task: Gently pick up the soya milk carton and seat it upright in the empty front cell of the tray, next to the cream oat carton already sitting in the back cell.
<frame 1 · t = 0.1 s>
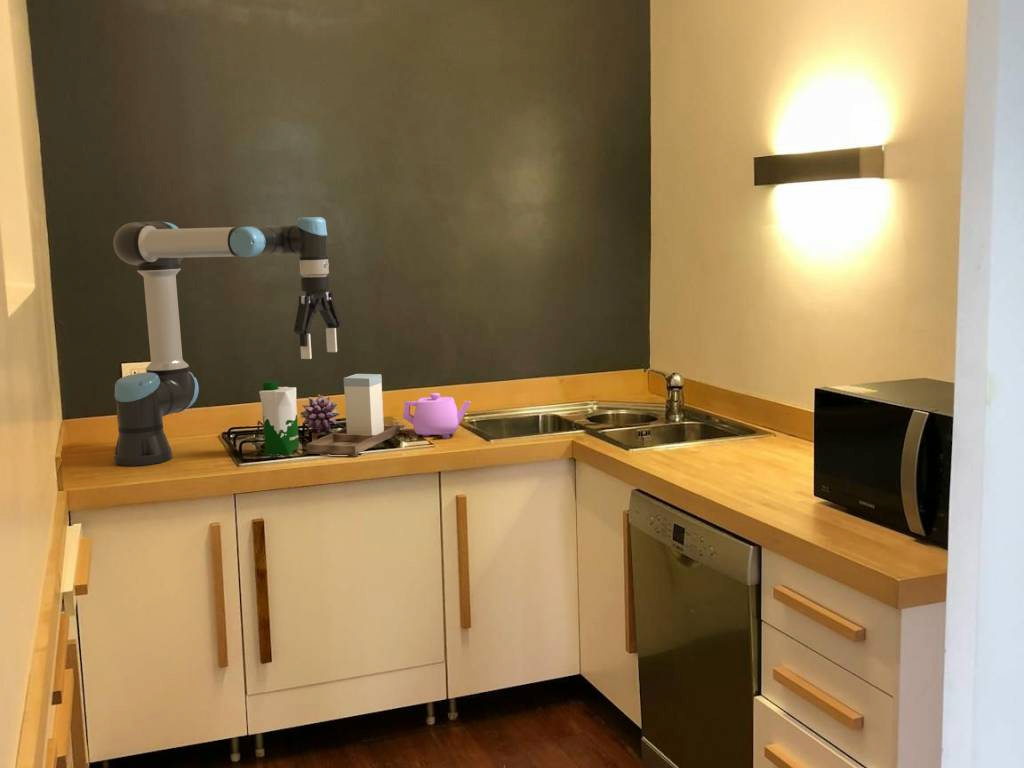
hand: (319, 355, 285), 28 cm above the worktop, fingers open, 13 cm apart
soya milk: (282, 453, 296), on the worktop
purple spiky ball: (321, 434, 321), on the worktop
teapot: (437, 436, 312), on the worktop
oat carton: (365, 437, 310), point 1 cm above the worktop, touching tray
tray: (355, 444, 303), on the worktop
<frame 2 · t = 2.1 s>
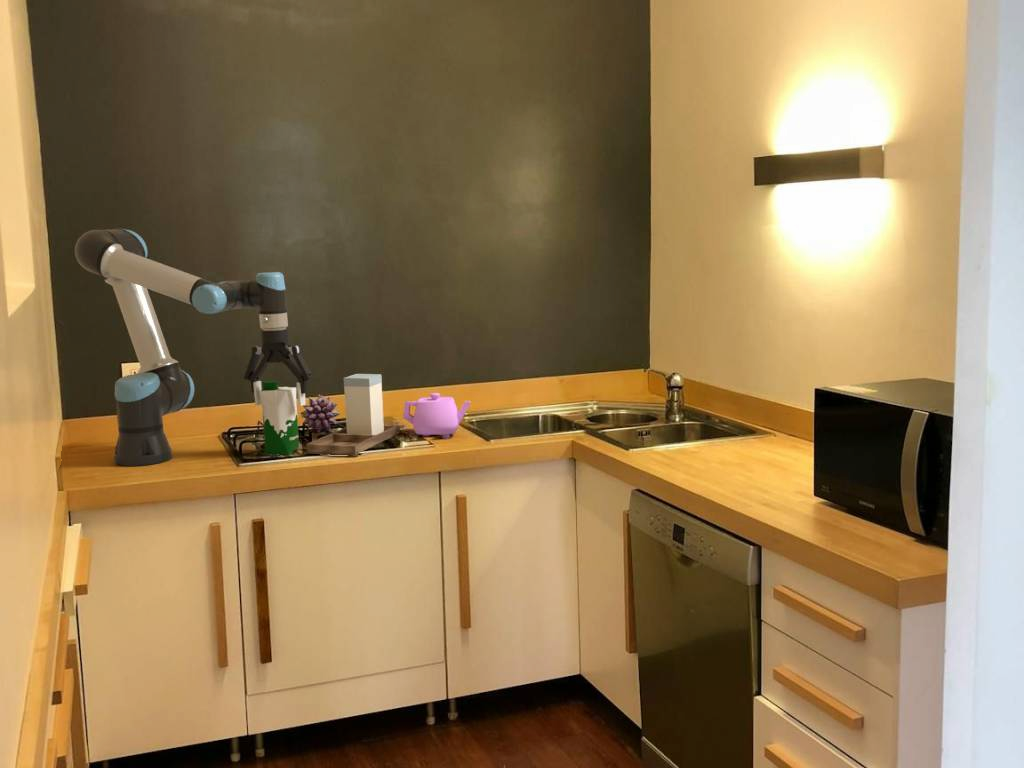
hand: (280, 405, 294), 13 cm above the worktop, fingers open, 13 cm apart
nothing on the worktop moved.
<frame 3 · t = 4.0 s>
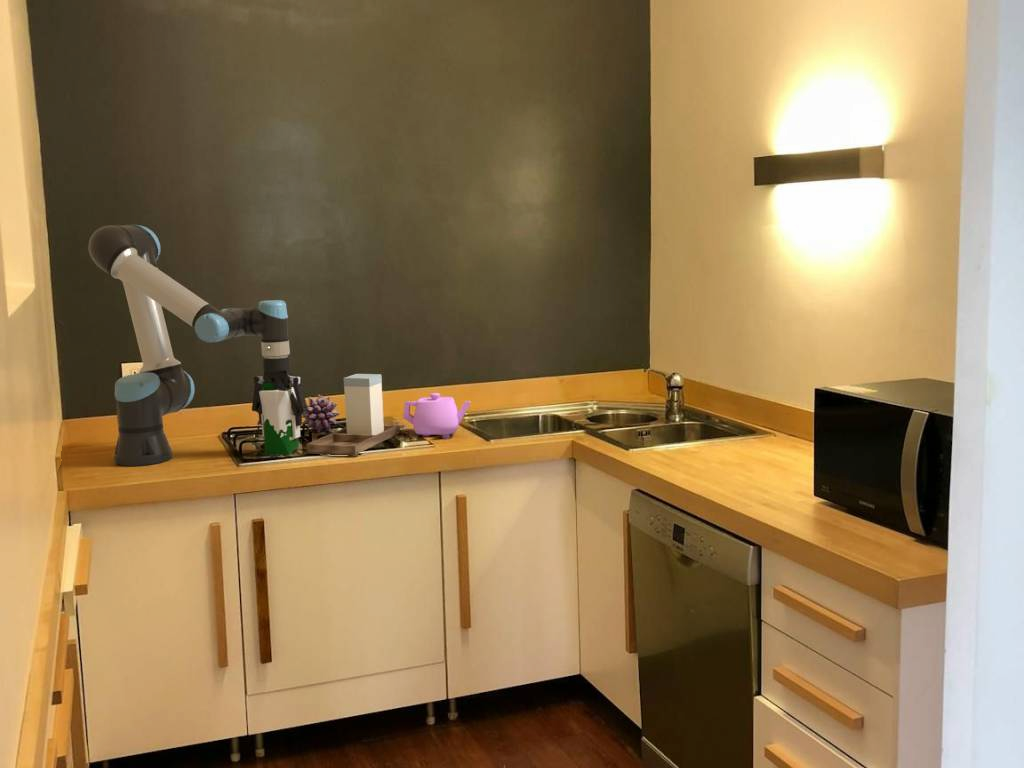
hand: (281, 436, 296), 4 cm above the worktop, fingers closed on soya milk, 9 cm apart
soya milk: (282, 453, 296), on the worktop, touching gripper
everything else where it was.
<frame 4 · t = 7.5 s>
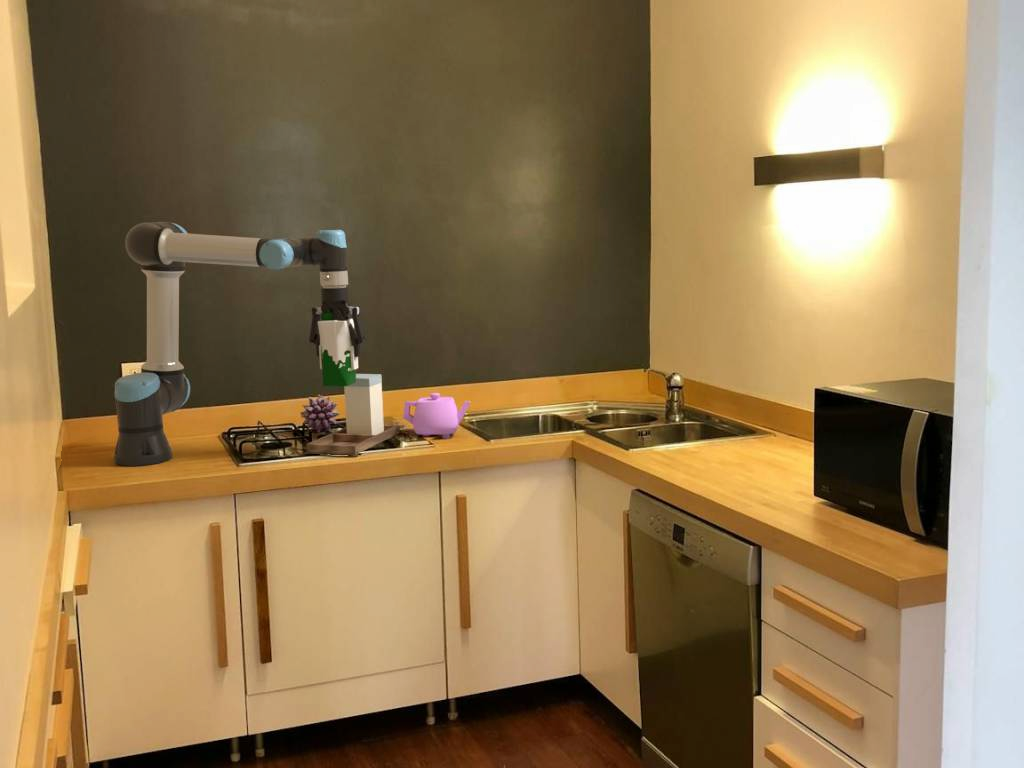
hand: (339, 368, 293), 23 cm above the worktop, fingers closed on soya milk, 9 cm apart
soya milk: (339, 385, 294), point 18 cm above the worktop, touching gripper
everything else where it was.
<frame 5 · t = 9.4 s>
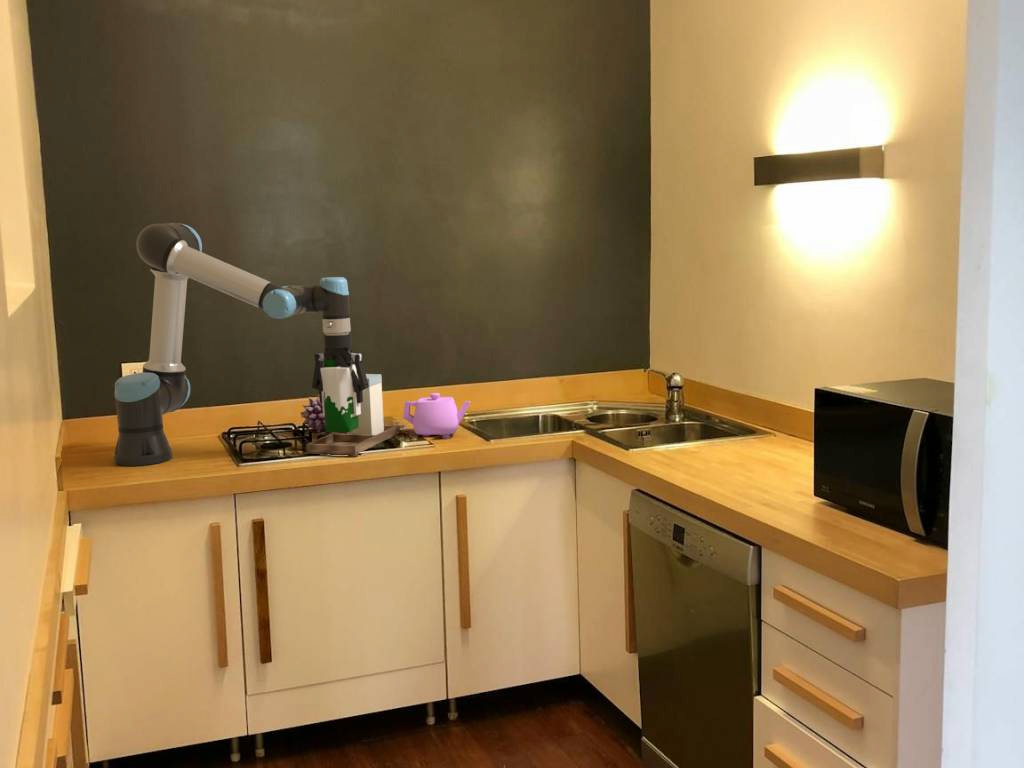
hand: (341, 414, 295), 10 cm above the worktop, fingers closed on soya milk, 9 cm apart
soya milk: (342, 430, 296), point 6 cm above the worktop, touching gripper
everything else where it was.
when the fingers open (7 cm above the worktop, at t = 11.1 s): soya milk drops 2 cm, resting on tray.
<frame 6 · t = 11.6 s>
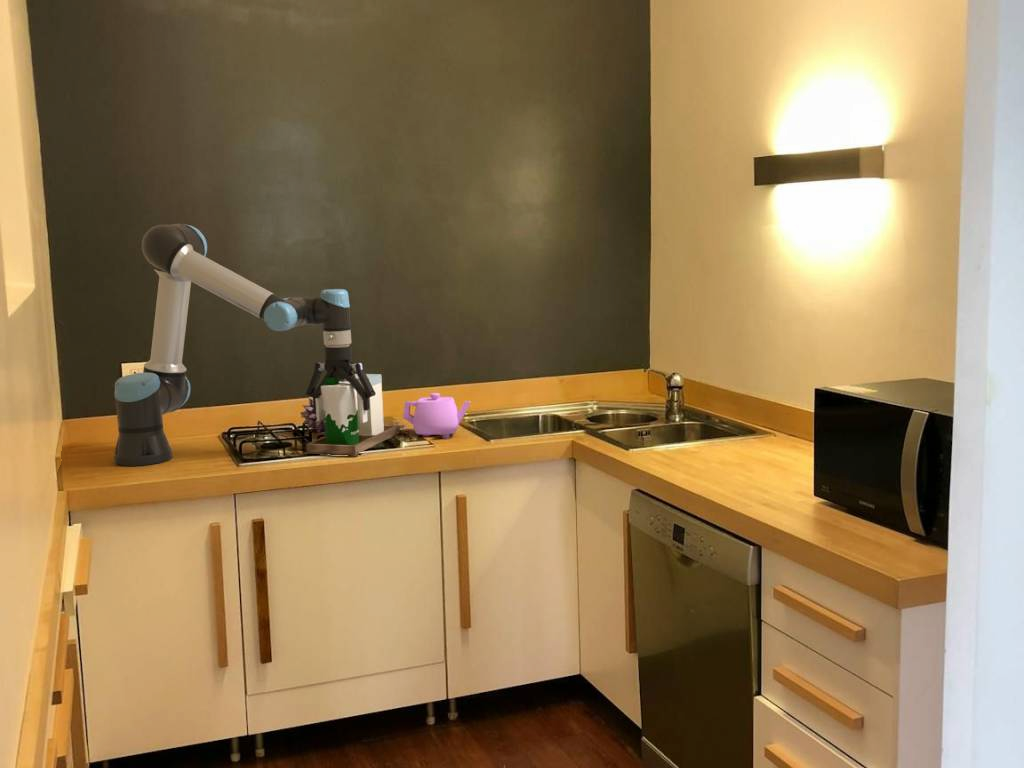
hand: (342, 421, 296), 8 cm above the worktop, fingers open, 13 cm apart
soya milk: (343, 447, 297), point 1 cm above the worktop, touching tray
everything else where it was.
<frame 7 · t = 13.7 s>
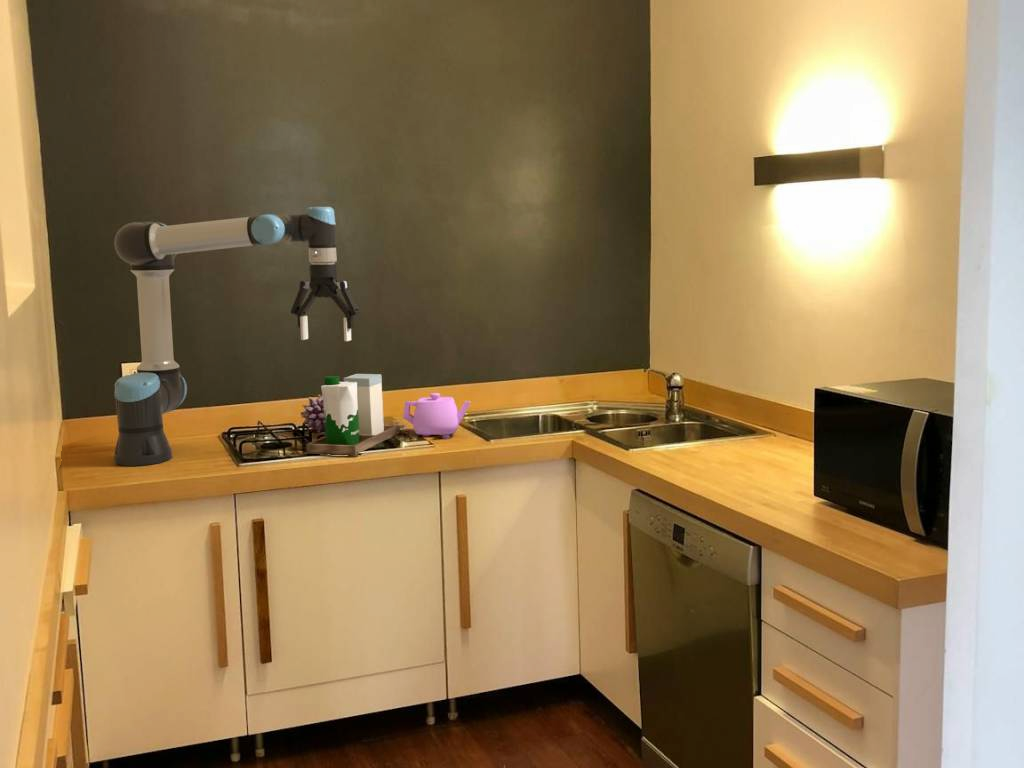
hand: (326, 340, 296), 31 cm above the worktop, fingers open, 13 cm apart
nothing on the worktop moved.
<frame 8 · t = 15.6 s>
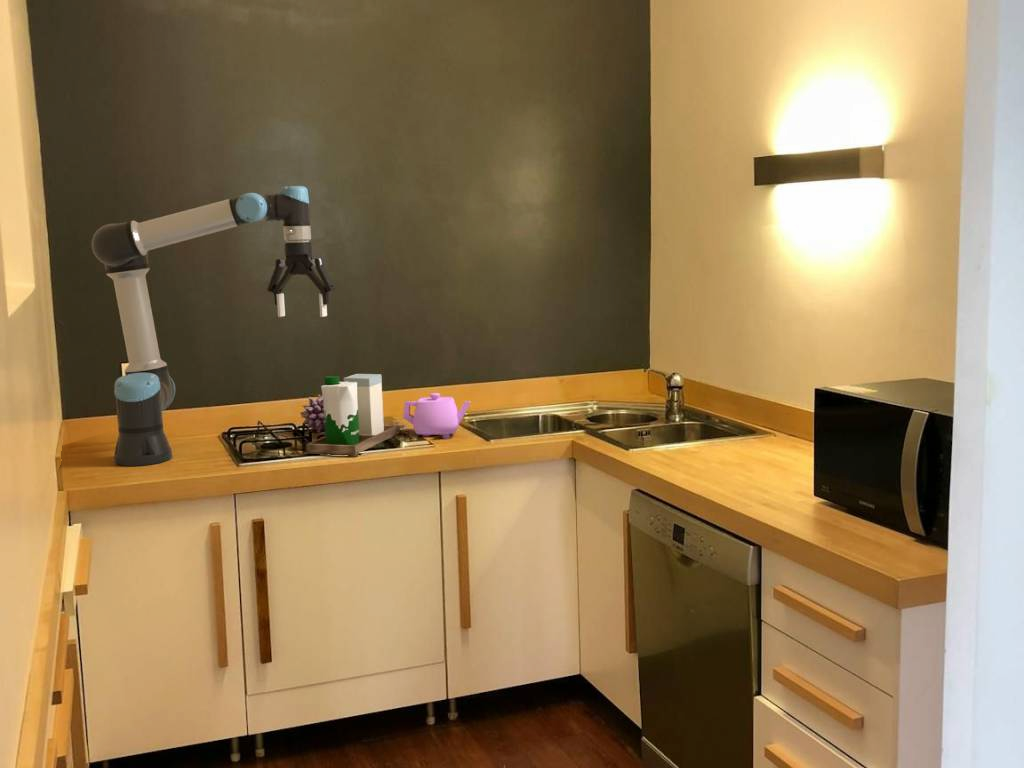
hand: (302, 316, 303), 37 cm above the worktop, fingers open, 13 cm apart
nothing on the worktop moved.
at the end: soya milk inside the target area on the tray (0.2 cm from its centre), point 0.6 cm above the tray's base; soya milk tilted 0°; the gripper is holding nothing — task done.
